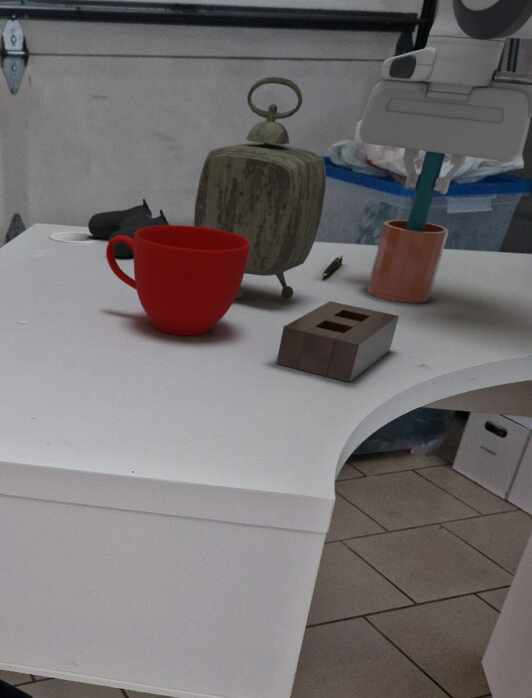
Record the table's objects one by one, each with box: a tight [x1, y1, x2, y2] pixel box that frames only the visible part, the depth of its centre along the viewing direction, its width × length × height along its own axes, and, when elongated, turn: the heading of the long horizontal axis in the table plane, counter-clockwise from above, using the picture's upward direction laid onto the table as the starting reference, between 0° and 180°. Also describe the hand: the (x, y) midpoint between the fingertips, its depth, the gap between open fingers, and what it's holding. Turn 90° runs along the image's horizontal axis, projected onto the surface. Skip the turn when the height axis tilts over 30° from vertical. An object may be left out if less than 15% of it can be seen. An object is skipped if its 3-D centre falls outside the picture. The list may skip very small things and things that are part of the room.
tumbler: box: [367, 219, 450, 304], centre depth 115 cm, size 8×8×9 cm
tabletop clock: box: [193, 76, 327, 300], centre depth 105 cm, size 14×9×25 cm, turn 56°
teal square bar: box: [406, 151, 446, 232], centre depth 111 cm, size 2×2×14 cm
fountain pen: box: [322, 254, 344, 278], centre depth 126 cm, size 14×1×2 cm, turn 155°
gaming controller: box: [87, 198, 170, 258], centre depth 131 cm, size 17×6×10 cm
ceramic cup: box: [105, 224, 250, 336], centre depth 96 cm, size 13×17×10 cm
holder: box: [276, 300, 400, 383], centre depth 91 cm, size 8×14×4 cm, turn 146°
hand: (425, 190), depth 110 cm, fingers closed on teal square bar, 2 cm apart
